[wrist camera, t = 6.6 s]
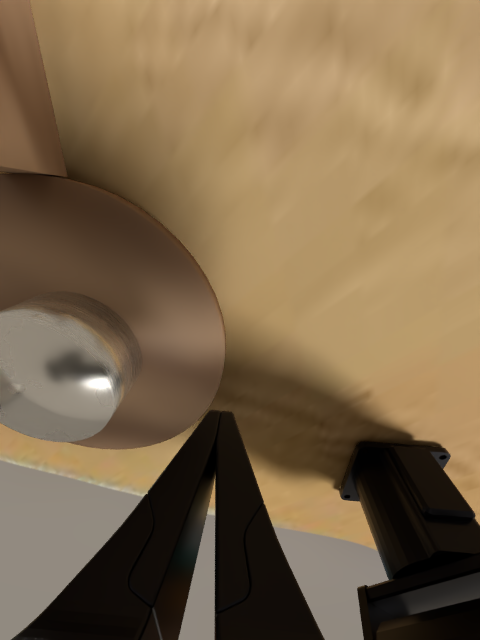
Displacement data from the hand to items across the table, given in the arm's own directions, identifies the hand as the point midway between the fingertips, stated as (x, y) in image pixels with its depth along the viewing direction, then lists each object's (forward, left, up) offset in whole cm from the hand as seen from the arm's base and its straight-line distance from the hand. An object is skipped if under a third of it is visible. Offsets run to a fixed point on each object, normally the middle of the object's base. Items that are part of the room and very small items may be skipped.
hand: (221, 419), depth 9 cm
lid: (0, +8, -4) cm, 9 cm away
